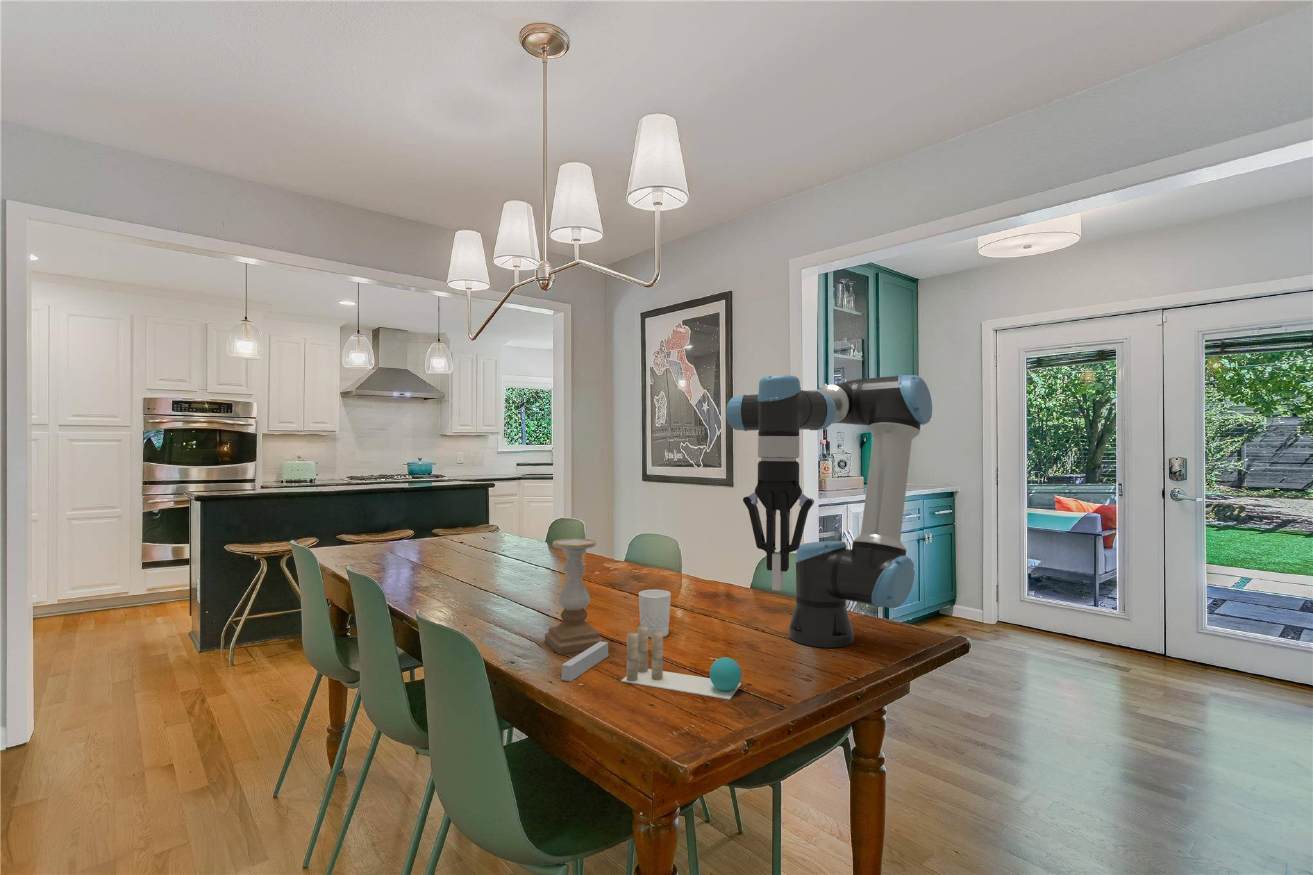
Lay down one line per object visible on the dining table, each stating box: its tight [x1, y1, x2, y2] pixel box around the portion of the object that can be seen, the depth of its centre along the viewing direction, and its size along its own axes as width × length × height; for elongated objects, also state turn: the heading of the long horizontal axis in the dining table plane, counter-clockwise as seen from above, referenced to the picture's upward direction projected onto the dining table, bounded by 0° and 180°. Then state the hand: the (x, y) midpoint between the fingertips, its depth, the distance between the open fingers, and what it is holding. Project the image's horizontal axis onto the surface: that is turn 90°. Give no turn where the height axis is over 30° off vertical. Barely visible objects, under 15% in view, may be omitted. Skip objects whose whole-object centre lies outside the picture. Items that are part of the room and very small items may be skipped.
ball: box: [709, 656, 742, 691], centre depth 118 cm, size 6×6×6 cm
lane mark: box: [620, 668, 742, 700], centre depth 121 cm, size 22×8×1 cm, turn 67°
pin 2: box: [636, 625, 649, 673], centre depth 127 cm, size 2×2×9 cm
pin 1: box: [626, 632, 638, 681], centre depth 122 cm, size 2×2×9 cm
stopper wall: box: [561, 641, 609, 682], centre depth 129 cm, size 2×16×3 cm, turn 157°
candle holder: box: [544, 538, 605, 656], centre depth 144 cm, size 11×11×24 cm
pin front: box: [651, 632, 664, 680], centre depth 123 cm, size 2×2×9 cm
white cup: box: [638, 589, 672, 639], centre depth 153 cm, size 8×8×10 cm
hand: (777, 588), depth 114 cm, fingers closed
